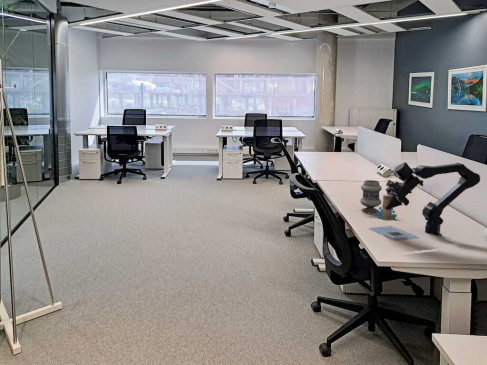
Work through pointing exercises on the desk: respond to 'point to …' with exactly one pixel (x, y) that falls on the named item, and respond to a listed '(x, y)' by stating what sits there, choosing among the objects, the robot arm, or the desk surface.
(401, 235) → the metal collar
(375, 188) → the apothecary jar
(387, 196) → the tan wooden peg
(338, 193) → the desk surface
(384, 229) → the board
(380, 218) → the blue virus model
